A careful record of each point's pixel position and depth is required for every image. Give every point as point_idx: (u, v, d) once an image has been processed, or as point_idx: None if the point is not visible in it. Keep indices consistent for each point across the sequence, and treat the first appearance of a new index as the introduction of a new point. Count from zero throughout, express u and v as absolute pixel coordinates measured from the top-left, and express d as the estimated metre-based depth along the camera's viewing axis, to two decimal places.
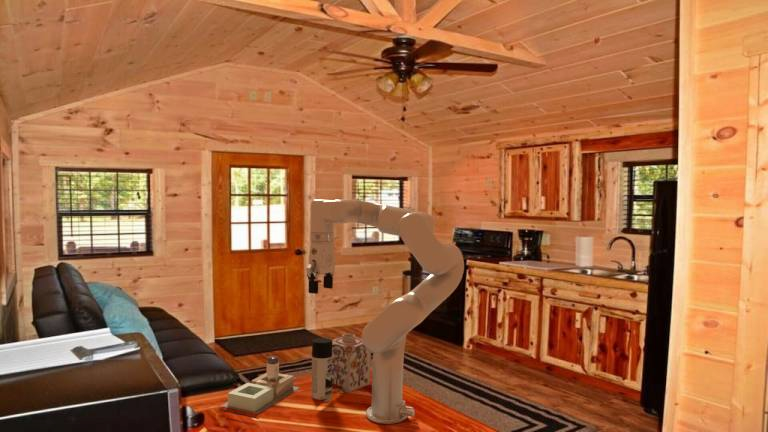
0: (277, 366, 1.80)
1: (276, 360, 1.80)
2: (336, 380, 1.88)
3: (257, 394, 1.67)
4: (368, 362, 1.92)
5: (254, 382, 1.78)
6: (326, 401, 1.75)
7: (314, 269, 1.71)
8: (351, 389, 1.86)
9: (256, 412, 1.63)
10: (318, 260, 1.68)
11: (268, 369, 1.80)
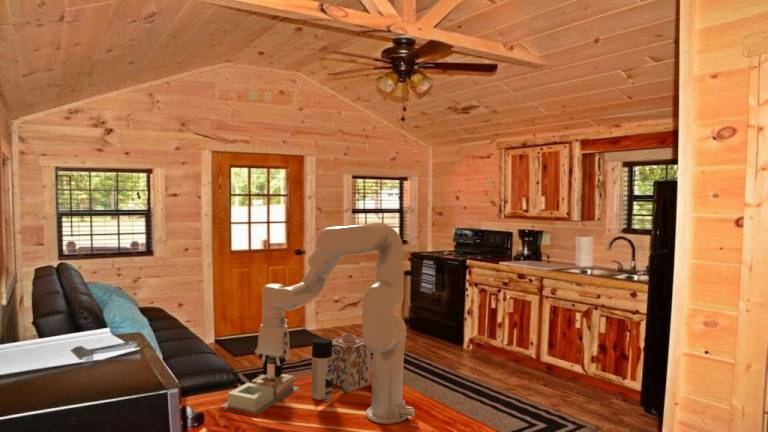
0: None
1: None
2: (336, 380, 1.88)
3: (257, 394, 1.67)
4: (368, 362, 1.92)
5: (254, 382, 1.78)
6: (326, 401, 1.75)
7: None
8: (351, 389, 1.86)
9: (256, 412, 1.63)
10: (288, 341, 1.80)
11: (268, 369, 1.80)
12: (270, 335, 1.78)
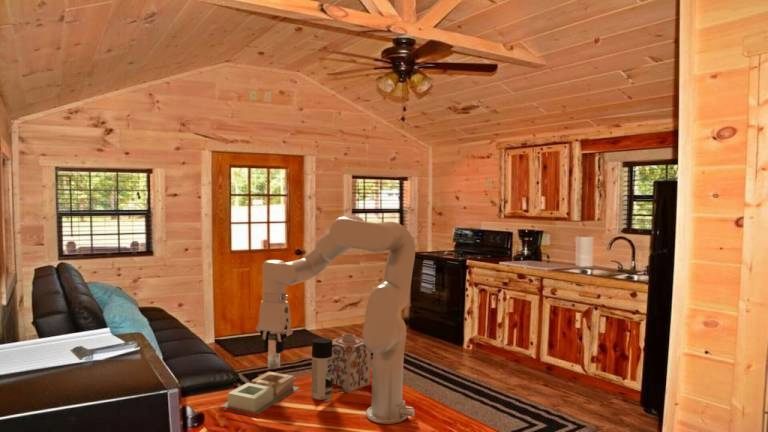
0: None
1: None
2: (336, 380, 1.88)
3: (257, 394, 1.67)
4: (368, 362, 1.92)
5: (254, 382, 1.78)
6: (326, 401, 1.75)
7: None
8: (351, 389, 1.86)
9: (256, 412, 1.63)
10: (289, 317, 1.80)
11: (269, 345, 1.79)
12: (271, 311, 1.78)
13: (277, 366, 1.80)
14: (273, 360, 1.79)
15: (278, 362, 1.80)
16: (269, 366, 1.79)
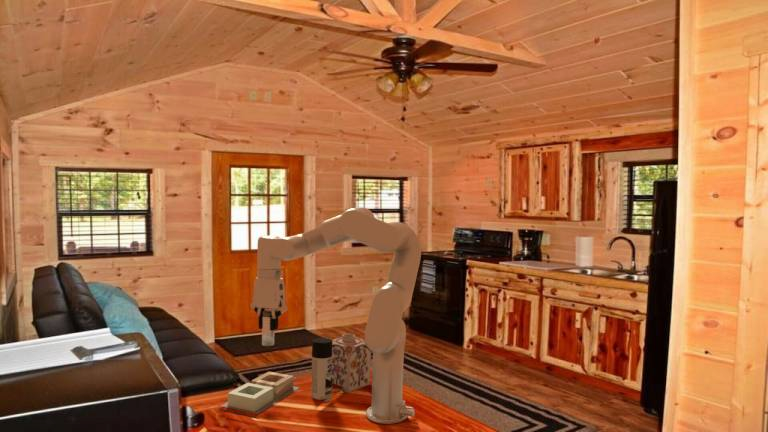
0: None
1: (271, 313, 1.76)
2: (336, 380, 1.88)
3: (257, 394, 1.67)
4: (368, 362, 1.92)
5: (254, 382, 1.78)
6: (326, 401, 1.75)
7: None
8: (351, 389, 1.86)
9: (256, 412, 1.63)
10: (284, 294, 1.77)
11: (263, 322, 1.76)
12: (265, 287, 1.74)
13: (271, 344, 1.77)
14: (267, 337, 1.76)
15: (272, 340, 1.77)
16: (263, 343, 1.76)
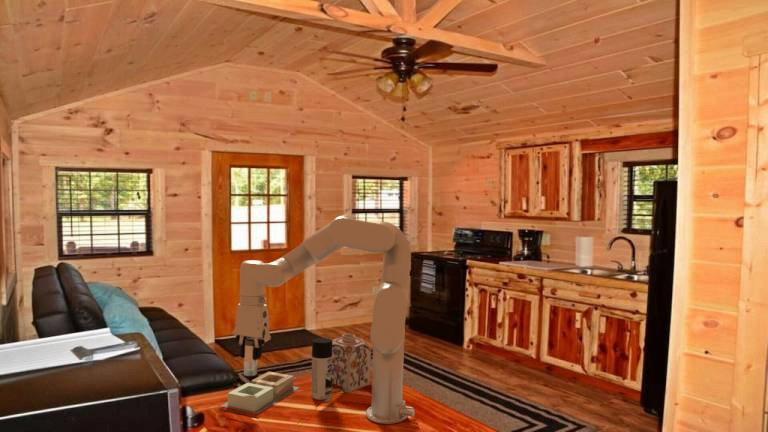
0: None
1: (254, 342, 1.68)
2: (336, 380, 1.88)
3: (257, 394, 1.67)
4: (368, 362, 1.92)
5: (254, 382, 1.78)
6: (326, 401, 1.75)
7: None
8: (351, 389, 1.86)
9: (256, 412, 1.63)
10: (268, 322, 1.69)
11: (246, 351, 1.68)
12: (248, 315, 1.66)
13: (254, 373, 1.69)
14: (250, 367, 1.68)
15: (255, 369, 1.69)
16: (245, 373, 1.68)
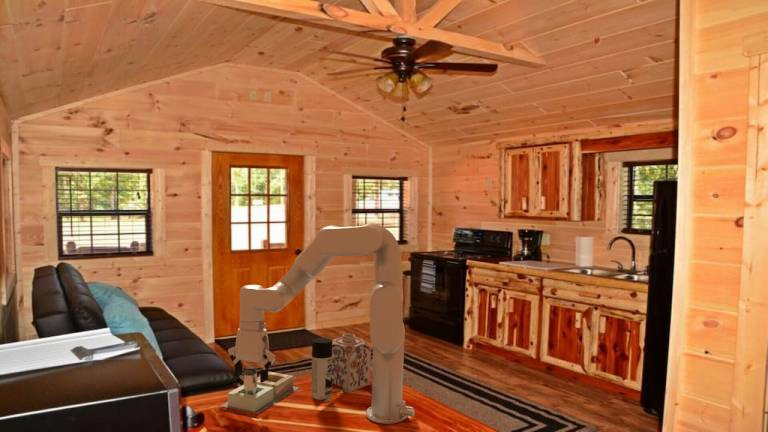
0: (255, 377, 1.69)
1: (253, 371, 1.68)
2: (336, 380, 1.88)
3: (257, 394, 1.67)
4: (368, 362, 1.92)
5: None
6: (326, 401, 1.75)
7: None
8: (351, 389, 1.86)
9: (256, 412, 1.63)
10: (267, 346, 1.69)
11: (245, 381, 1.68)
12: (248, 340, 1.67)
13: None
14: None
15: None
16: None
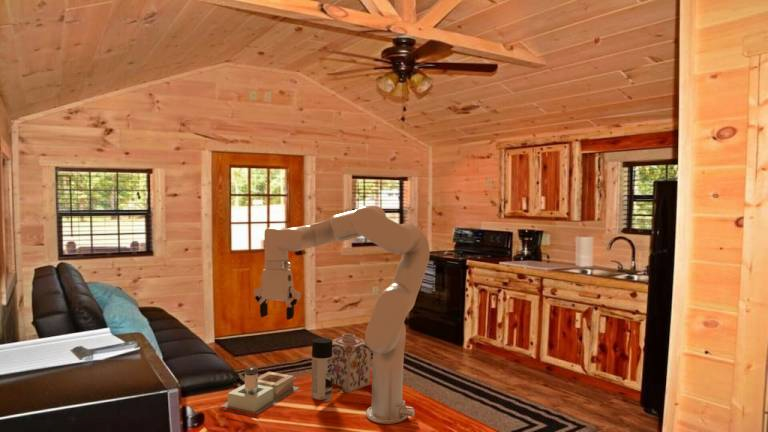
0: (256, 377, 1.69)
1: (255, 371, 1.69)
2: (336, 380, 1.88)
3: (257, 394, 1.67)
4: (368, 362, 1.92)
5: None
6: (326, 401, 1.75)
7: None
8: (351, 389, 1.86)
9: (256, 412, 1.63)
10: (292, 285, 1.75)
11: (246, 381, 1.68)
12: (274, 279, 1.73)
13: None
14: None
15: None
16: None
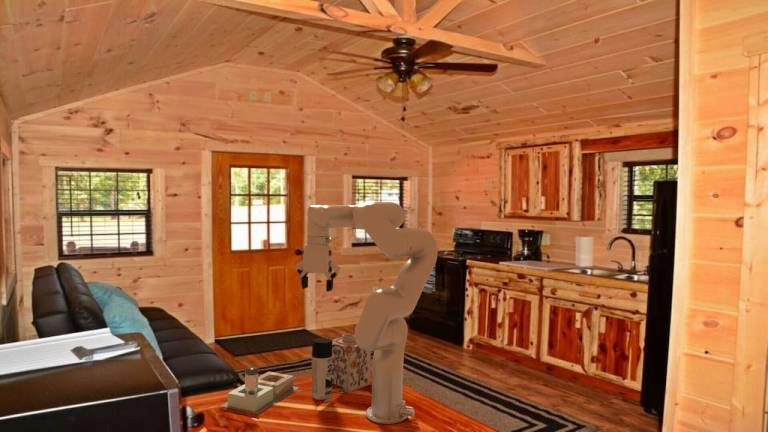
0: (256, 377, 1.69)
1: (255, 371, 1.69)
2: (336, 380, 1.88)
3: (257, 394, 1.67)
4: (368, 362, 1.92)
5: None
6: (326, 401, 1.75)
7: None
8: (351, 389, 1.86)
9: (256, 412, 1.63)
10: (332, 260, 1.88)
11: (246, 381, 1.68)
12: (315, 253, 1.85)
13: None
14: None
15: None
16: None
